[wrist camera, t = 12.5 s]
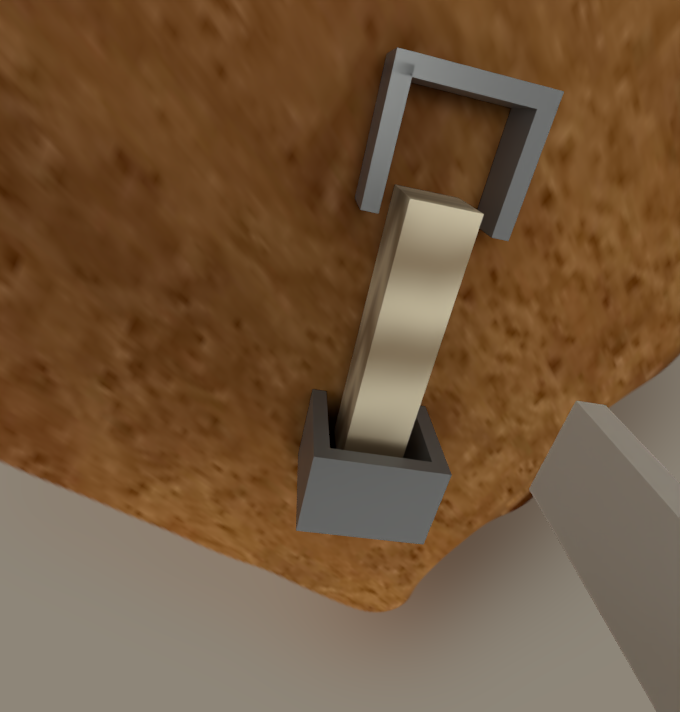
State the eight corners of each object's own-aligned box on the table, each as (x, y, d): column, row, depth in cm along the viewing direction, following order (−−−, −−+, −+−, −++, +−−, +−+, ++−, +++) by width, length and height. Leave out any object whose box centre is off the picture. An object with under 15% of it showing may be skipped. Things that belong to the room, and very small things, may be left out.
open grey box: (298, 454, 38) (296, 530, 31) (312, 389, 35) (313, 456, 28) (403, 468, 39) (423, 544, 32) (425, 406, 36) (451, 474, 30)
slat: (384, 434, 38) (395, 479, 33) (334, 428, 37) (338, 472, 33) (457, 197, 30) (483, 213, 25) (394, 183, 29) (409, 198, 25)
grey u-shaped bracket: (354, 198, 29) (360, 209, 26) (386, 54, 26) (397, 47, 23) (487, 226, 30) (508, 241, 27) (534, 92, 27) (563, 91, 24)
